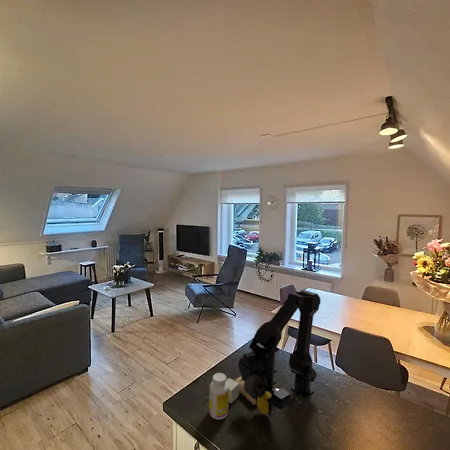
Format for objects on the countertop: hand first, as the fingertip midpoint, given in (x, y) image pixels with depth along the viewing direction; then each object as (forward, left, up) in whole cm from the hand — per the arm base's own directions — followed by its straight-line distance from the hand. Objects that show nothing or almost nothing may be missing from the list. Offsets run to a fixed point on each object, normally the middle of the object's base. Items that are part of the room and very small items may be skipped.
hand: (264, 409), depth 87 cm
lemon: (0, 0, -2) cm, 2 cm away
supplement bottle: (+12, -10, -2) cm, 16 cm away
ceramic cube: (+4, -14, -2) cm, 15 cm away
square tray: (-6, -11, -2) cm, 13 cm away
